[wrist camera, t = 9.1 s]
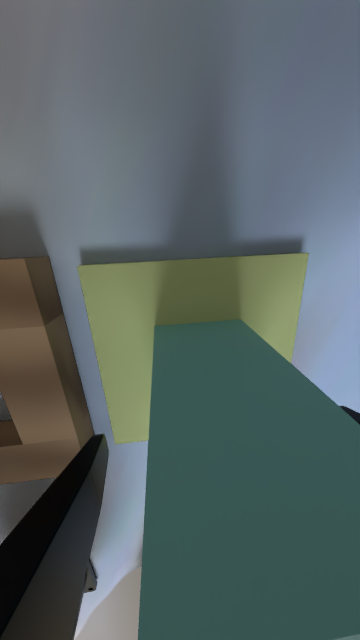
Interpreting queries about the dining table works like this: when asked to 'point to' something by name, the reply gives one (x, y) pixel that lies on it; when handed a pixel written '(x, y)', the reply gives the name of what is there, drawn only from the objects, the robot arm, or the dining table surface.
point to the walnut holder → (37, 376)
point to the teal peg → (246, 495)
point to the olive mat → (180, 316)
